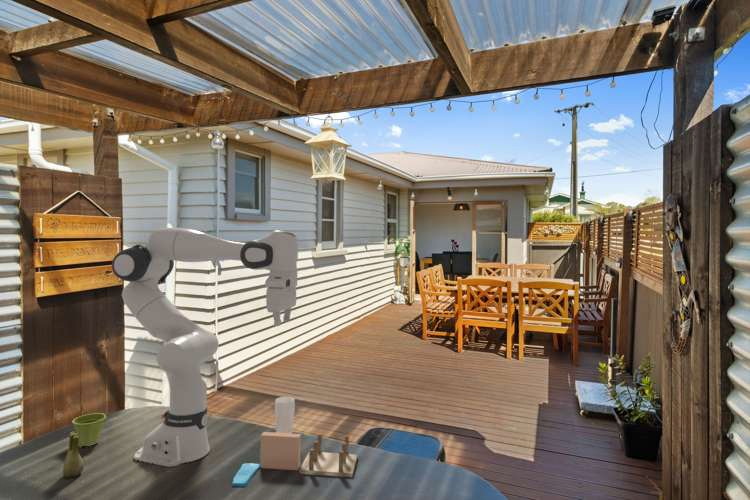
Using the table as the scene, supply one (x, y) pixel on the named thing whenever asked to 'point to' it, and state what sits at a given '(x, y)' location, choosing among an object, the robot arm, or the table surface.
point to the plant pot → (89, 428)
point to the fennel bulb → (73, 458)
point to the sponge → (245, 474)
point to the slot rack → (329, 461)
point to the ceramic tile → (280, 450)
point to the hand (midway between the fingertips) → (282, 323)
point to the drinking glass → (284, 414)
